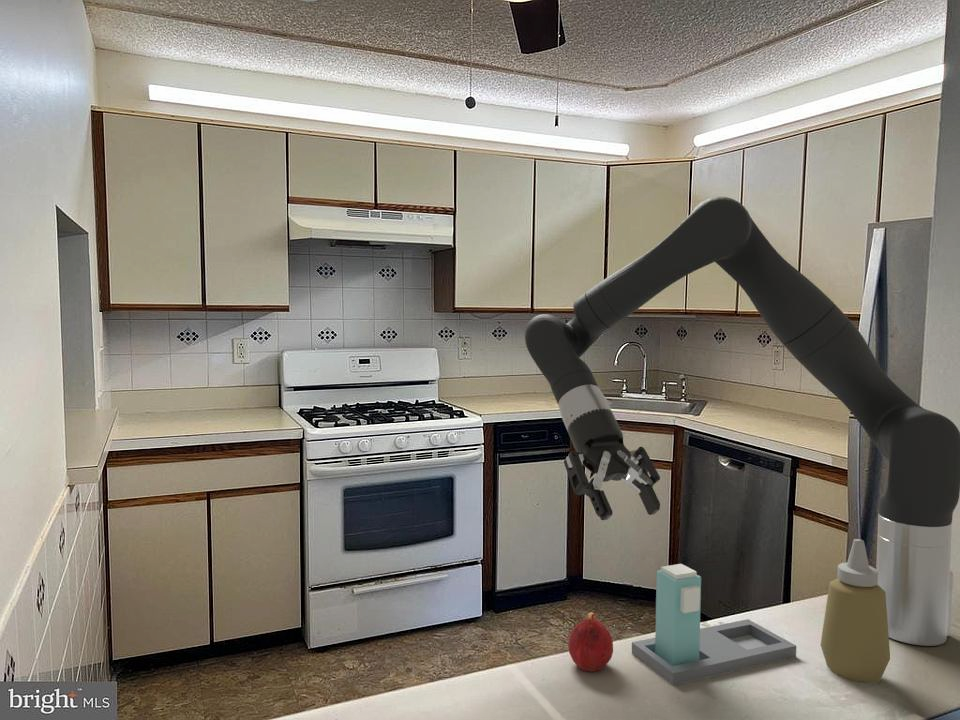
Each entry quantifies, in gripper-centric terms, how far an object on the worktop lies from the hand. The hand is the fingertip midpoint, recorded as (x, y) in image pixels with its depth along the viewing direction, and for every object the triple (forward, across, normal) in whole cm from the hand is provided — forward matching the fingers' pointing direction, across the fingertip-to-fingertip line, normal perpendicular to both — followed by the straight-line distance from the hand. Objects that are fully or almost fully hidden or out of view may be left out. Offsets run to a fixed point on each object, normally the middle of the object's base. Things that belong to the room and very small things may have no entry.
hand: (631, 514), depth 102 cm
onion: (+18, -10, +9) cm, 22 cm away
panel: (+20, +6, +4) cm, 22 cm away
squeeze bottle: (+28, +20, -4) cm, 34 cm away
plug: (+19, 0, +4) cm, 20 cm away
